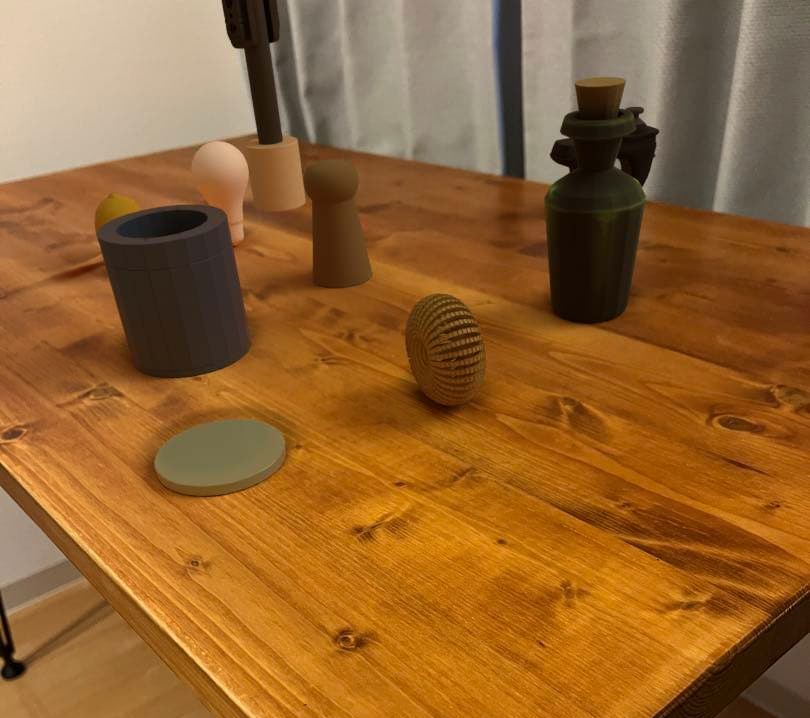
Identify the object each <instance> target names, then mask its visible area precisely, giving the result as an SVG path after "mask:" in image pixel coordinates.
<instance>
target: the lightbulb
mask: <svg viewBox="0 0 810 718" xmlns="http://www.w3.org/2000/svg"><path fill="white" fill-rule="evenodd" d="M190 168H191V179H192V181H193V182H194V186H195V187H196V189H197V190H198V192H199V194H201V195H202V197H203V198H204V199H205V201H206V202H207V204H208V206H213V207H216V208H219V209H222V210H223V211H224V212H225V213H226V215H227V219H228V224H229V229H230V234H231V239H232V244H233V247H236V246H238V245H239V243H240V242H242V241H243V240H244V238H245V235H244V234H245V233H244V225H243V220H244V212H243V203H244V197H245V193H246V190H247V187H248V183H249V180H250V176H249V170H248V164H247V159H246V157H245V156H244V154H243V153H242V152H241V151H240V150H239V149H238V148H237V147H236V146H235V145H232V144H231V143H228V142H226V141H220V140H215V141H210V142H208V143H205V144H203V145H202V146H201V147H200V148H199V149H198V150H197V151H196V152H195V154H194V156H193V158H192V161H191V167H190Z"/></svg>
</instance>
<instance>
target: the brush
mask: <svg viewBox="0 0 810 718" xmlns="http://www.w3.org/2000/svg"><path fill="white" fill-rule="evenodd" d="M252 1H253V8H254V14H255V21H256V28H257V35H258V45H257V47H254V48H250V49H243V52H244V57H245V58H244V59H245V63H246V71H247V78H248V83H249V90H250V97H251V103H252V109H253V115H254V120H255V121H254V122H255V128H256V133H257V134H256V135H257V138H254V139H251V140H249V141H247V142H245V143H244V151H245V159H246V162H247V165H248V170H249V181H250V187H251V193H252V200H253V205H254V208H255V210H257V211H260V212H267V213H279V212H286V211H291V210H295V209H298V208H300V207H302V206H304V205H305V204H306V202H307V199H306V191H305V188H304V182H303V180H304V175H303V170H302V162H301V154H300V146H299V139H298V138H297V137H295V136H291V135H283V131H282V124H281V116H280V109H279V102H278V95H277V89H276V88H277V87H276V81H275V73H274V67H273V59H272V54H271V45H270V43H269V38H268V31H267V24H266V17H265V10H264V3H263V0H252Z"/></svg>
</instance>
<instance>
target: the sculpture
mask: <svg viewBox="0 0 810 718" xmlns="http://www.w3.org/2000/svg"><path fill="white" fill-rule="evenodd" d="M404 337H405V338H404V339H405V340H404V341H405V350H406V351H405V352H406V356H407V359H408V364H409V367H410V370H411V373H412V376H413V377H414V380H415V382H416V383H417V385H418V387H419V388H420V389H421V392H422V393H424V395H425V396H426V397H427V398H429V399H430V400H431V401H432V402H434V403H437V404H439V405H442V406H452V407H453V406H457V405H458V406H459V405H462V404H465V403H467V402H468V401H469V400H471V399H472V398H473V397H475V395H476V394H477V392H479V390H480V388H481V386H482V384H483V381H484V377H485V374H486V367H487V366H486V363H487V358H486V349H485V342H483V341H484V337H483V335H482V331H481V328H480V325H479V323H478V322H477V319H476V317H475V316H474V314H473V313H472V311H471V310H470V308H469V307H468V306H467V305H466V304H465V303H464V302H463V301H462V300H461V299H459V298H457V297H455V296H454V295H451V294H447V293H440V292H439V293H433V294H429V295H426V296H424V297H422V298H421V299H420V300H419V301H417V302H416V304H415V305H413V307H412V309H411V310H410V312H409V314H408V317H407V320H406V324H405V332H404ZM447 341H448V342H447Z"/></svg>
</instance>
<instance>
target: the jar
mask: <svg viewBox="0 0 810 718" xmlns="http://www.w3.org/2000/svg"><path fill="white" fill-rule="evenodd" d="M97 238H98V239H97ZM96 239H97V242H98V241H99V242H98V245H99V248H100V251H101V255H102V258H103V262H104V266H105V269H106V273H107V276H108V281H109V284H110V287H111V290H112V291H111V292H112V294H113V298H114V301H115V304H116V305H115V306H116V308H117V312H118V315H119V319H120V322H121V327H122V330H123V332H124V337H125V340H126V344H127V347H128V351H129V355H130V357H131V361H132V364H133V366H134V367H135V368H136V370H137V371H139V372H141V373H143V374H144V375H148V376H151V377H157V378H158V377H159V378H184V377H185V378H186V377H192V376H199V375H203V374H208V373H211V372H215V371H218V370H221V369H223V368H226V367H228V366H230V365H232V364H234V363H236V362H237V361H239V360H240V359H242V358H243V357H244V356H245V355H246V354H247V353H248V352H249V350H250V348H251V345H252V342H251V333H250V328H249V327H250V326H249V322H248V316H247V313H246V312H247V311H246V308H245V303H244V302H245V301H244V296H243V292H242V287H241V282H240V276H239V270H238V266H237V260H236V255H235V250H234V246H233V244H232V239H231V234H230V229H229V224H228V219H227V215H226V213H225V212H224V211H223V210H222V209H219V208H216V207H213V206H209V205H207V204H206V205H205V204H197V203H195V204H172V205H164V206H156V207H150V208H145V209H141V211H137V212H133V213H130V214H126V215H124V216H121V217H119V218H116V219H113V220H111V221H109V222H108V223H106V224H105V225H103V226H101V227H100V229H99V230H98V232H97V236H96Z"/></svg>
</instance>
